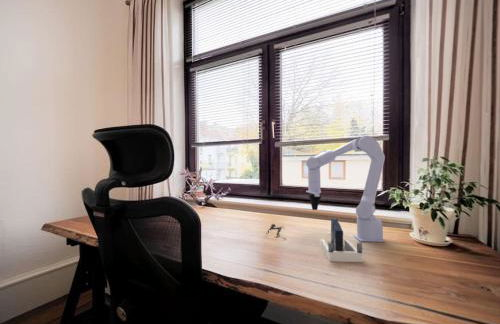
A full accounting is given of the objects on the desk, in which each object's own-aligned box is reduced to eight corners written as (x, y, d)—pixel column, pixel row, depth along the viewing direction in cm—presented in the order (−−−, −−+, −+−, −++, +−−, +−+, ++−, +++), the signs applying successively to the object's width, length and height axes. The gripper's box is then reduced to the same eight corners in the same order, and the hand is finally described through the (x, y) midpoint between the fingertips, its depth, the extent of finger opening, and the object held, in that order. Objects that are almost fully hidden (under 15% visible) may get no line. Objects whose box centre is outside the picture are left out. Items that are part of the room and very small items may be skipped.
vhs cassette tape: (343, 260, 77) (343, 230, 77) (334, 259, 78) (333, 230, 78) (338, 243, 94) (338, 218, 95) (331, 242, 95) (330, 218, 96)
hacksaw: (271, 226, 124) (271, 223, 124) (290, 227, 121) (290, 224, 121) (261, 240, 101) (261, 236, 101) (285, 241, 98) (285, 238, 98)
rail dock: (348, 246, 90) (348, 230, 90) (363, 262, 75) (362, 243, 75) (320, 245, 91) (319, 230, 92) (329, 261, 76) (328, 243, 76)
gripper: (304, 180, 120) (304, 207, 120) (308, 182, 106) (308, 212, 106) (317, 180, 120) (318, 207, 119) (323, 182, 105) (324, 212, 105)
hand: (314, 209), depth 112 cm, fingers closed
